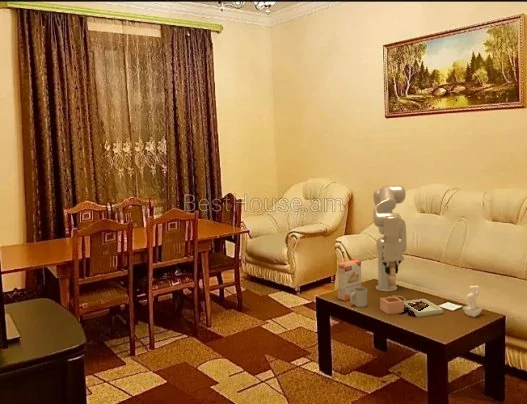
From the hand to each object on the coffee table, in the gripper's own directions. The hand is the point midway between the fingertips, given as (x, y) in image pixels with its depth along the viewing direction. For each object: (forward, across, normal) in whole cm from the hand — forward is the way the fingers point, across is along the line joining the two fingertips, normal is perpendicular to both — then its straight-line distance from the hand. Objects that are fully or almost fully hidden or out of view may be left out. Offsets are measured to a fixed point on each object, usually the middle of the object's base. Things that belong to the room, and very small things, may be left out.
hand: (391, 272), depth 268 cm
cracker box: (+21, -12, +28) cm, 37 cm away
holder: (+20, 0, 0) cm, 20 cm away
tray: (+20, +15, -4) cm, 26 cm away
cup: (+21, -13, +14) cm, 28 cm away
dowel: (+8, 0, 0) cm, 8 cm away
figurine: (+21, +35, -20) cm, 45 cm away
